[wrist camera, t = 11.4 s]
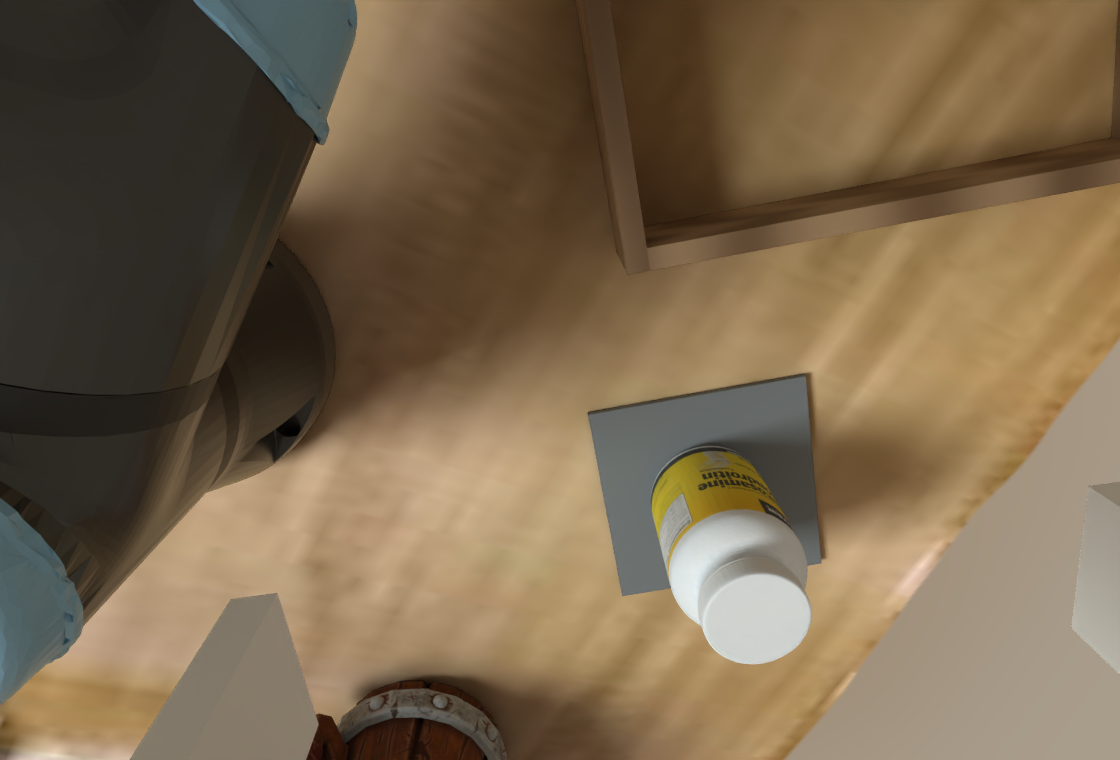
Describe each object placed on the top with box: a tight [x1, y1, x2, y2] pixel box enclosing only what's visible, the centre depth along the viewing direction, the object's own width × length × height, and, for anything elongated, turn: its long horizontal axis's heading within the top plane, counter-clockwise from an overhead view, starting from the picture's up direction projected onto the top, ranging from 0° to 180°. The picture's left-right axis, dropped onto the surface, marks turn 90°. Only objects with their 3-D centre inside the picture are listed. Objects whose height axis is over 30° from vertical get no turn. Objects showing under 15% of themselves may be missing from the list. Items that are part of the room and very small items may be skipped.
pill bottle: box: [651, 446, 811, 664], centre depth 37 cm, size 6×6×12 cm
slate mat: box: [588, 374, 821, 596], centre depth 43 cm, size 12×12×1 cm
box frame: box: [576, 0, 1120, 275], centre depth 33 cm, size 26×15×6 cm, turn 101°
